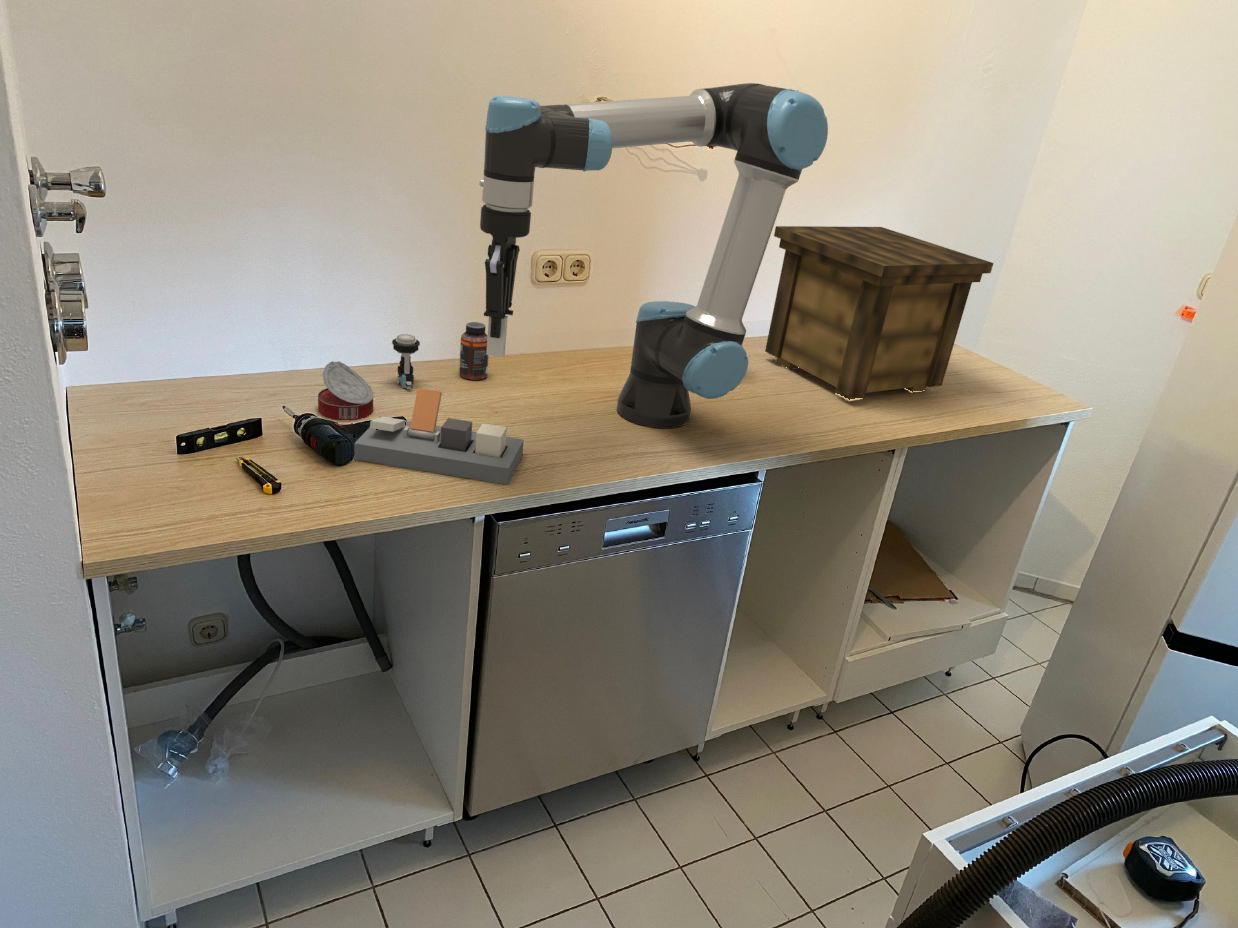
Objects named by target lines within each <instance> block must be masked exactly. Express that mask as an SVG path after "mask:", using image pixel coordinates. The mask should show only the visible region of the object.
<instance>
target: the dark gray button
mask: <svg viewBox="0 0 1238 928" xmlns="http://www.w3.org/2000/svg"><path fill="white" fill-rule="evenodd" d="M441 426H442V427H441V444H440V448H444V449H451V450H457V451H463V452H466V450H467V449H468V447H469V446H470V444H471V437H472V431H473V421H470V420H464V419H457V418H452V417H447V419H446V420H445V422H444V423H443V424H442V425H441Z"/></svg>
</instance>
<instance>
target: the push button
mask: <svg viewBox="0 0 1238 928" xmlns="http://www.w3.org/2000/svg"><path fill="white" fill-rule="evenodd" d="M391 344H392V346H393V350H394V351H395V352H396V353H398V354H400V361H399V365H397V378H396V383H397V385H399V383H400V385H401V387H402V389H407V390H412V385H414V383H415V382H414V378H415V377H414V367H413V365H412V362H411V358H412V357H411V355H412V354H415V353H417V352H418V351H419V346H420V345H421V342H420V341H419V340H418V339H416V336H414V335H412V334H409V333H406V334H405V333H403V334H398V335H397V336H396V338H394V339H392V342H391Z"/></svg>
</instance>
